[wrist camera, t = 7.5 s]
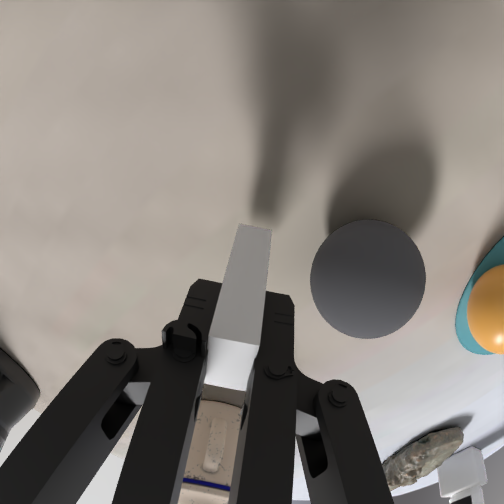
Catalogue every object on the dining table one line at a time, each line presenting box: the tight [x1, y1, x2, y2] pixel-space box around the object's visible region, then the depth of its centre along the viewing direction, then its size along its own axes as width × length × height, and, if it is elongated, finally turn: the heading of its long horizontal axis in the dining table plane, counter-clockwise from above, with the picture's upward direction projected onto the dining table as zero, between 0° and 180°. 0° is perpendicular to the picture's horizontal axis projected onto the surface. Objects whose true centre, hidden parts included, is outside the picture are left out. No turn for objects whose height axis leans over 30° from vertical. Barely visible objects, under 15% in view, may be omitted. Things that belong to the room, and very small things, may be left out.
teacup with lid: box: [178, 400, 242, 504], centre depth 24 cm, size 12×9×12 cm
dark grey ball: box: [310, 220, 426, 339], centre depth 14 cm, size 6×6×6 cm
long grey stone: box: [382, 427, 464, 491], centre depth 37 cm, size 35×5×10 cm
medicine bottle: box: [437, 446, 487, 504], centre depth 32 cm, size 7×7×12 cm
